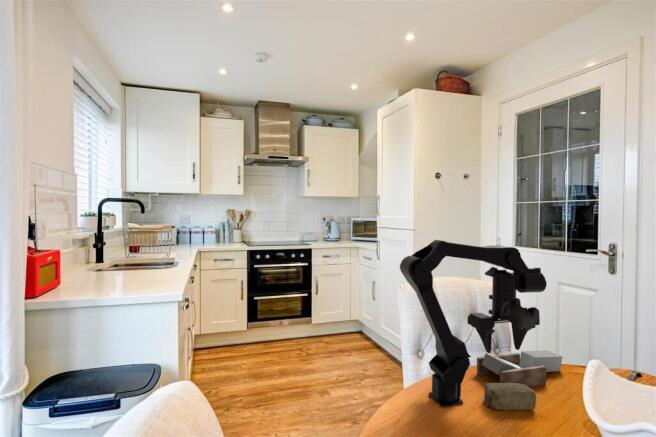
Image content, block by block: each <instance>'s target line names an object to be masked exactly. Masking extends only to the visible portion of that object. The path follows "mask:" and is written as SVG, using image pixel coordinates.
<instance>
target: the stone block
mask: <svg viewBox="0 0 656 437" xmlns="http://www.w3.org/2000/svg"><path fill="white" fill-rule="evenodd" d="M483 396H484V397H483V400H484V403H485V404H486V405H487V406H490V408H491V409H494V410H497V411H500V410H501V411H533V410H536V409H535V408H536V404H537V395H536V392H535V390H533V389H532V388H530V387H528V386H527V385H525V384H520V383H500V382H486V383H485V384H484V394H483Z"/></svg>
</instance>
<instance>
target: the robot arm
mask: <svg viewBox="0 0 656 437" xmlns="http://www.w3.org/2000/svg"><path fill="white" fill-rule="evenodd" d="M519 250H520V249H518V248H516V247H513V246H506V245H486V246H485V245H484V246H478V245H477V246H476V245H471V244H470V245H469V244H464V243H458V242H457V243H455V242H449V241H445V240H441V239H434V240H433V241H432V242H430V243H429V244H427V245H426V246H424V247H422V248H420V249H418V250H417V251H415V252H414V253H413V254H411V255H408V256H406V257H403V259H402V260H401V262H400V264H399V270H400V272H401V274H402V275H403V277H404V278H405V280H406V282H407V283H408V284H409V285H410V287H411V288H412V289H413V291H414V292H415V294H416V296H417V299H418V301H419V303H420V306H421V308H422V311H423V312H424V315H425V317H426V320H427V321H428V324H429V327H430V329H431V331H432V333H433V335H434V339H435V351H436V354H435V355H434V356H433V357H432V358H431V359H430V360H429V362H428V366H429V367H430V368H429V369H430V370H431V371H433V374H431V375H432V376H431V380H432V381H431V392H428V396H429V397H430V398H431V399H433V400H434V401H435V403H436V404H438V405H439V406H440V407H443V408H445V407H450V406H456V405H463V404H464V401H463V399H461V397H462V396H461V395H462V390H461V389H462V383H463V382H464V379H465V376H466V374H467V372H468V370H469V368H470V366H471V362H470V358H471V357H472V356H471V355H470V354H469V351H468V350H467V346H466V344H465V341H463V340H461V339H460V338H458V337H456V336H455V335H454V334H453V333H452V331H451V327H450V326H449V323H448V321H447V319H446V317H445V314H444V312H443V310H442V308H441V304H440V301H439V300H438V298H437V295H436V292H435V291H434V277H433V273H432V272H433V271H434V270H435V269H436V268H437V267H438V266H439V265H440V264H441V262H442V261H443V259H444V258H446V257H450V258H457V259H458V258H459V259H466V260H471V261H472V260H473V261H479V262H481V261H482V262H484V263H486V264H490V265H493V266H490V268H489V269H487V271H485V272H484V275H485V276H488V277H491V278H492V286H491V287H492V288H491V289H492V290H491V291H492V292H491V293H492V294H488V299H489V300H491V309H488V314H489V315H488V314H485V313H482V312H475V313H469V315H467V324H468V325H469V326H471V327H472V328H474V329H475V331H476V332H477V335H478V336H479V337H480V340H481V343H482V344H483V347H484V349H485V351H486V353H487V354H491V353H492V343H493V342H492V339H493V338H492V337H493V336H492V335H493V334H494V333H495V332H496V330H495V329H494V328H495V326H496V324H504V323H505V324H507V323H511V332H512V338H513V346H514V349H515V350H517V351H520V348H521V347H522V345H523V342H524V340H525V337H526V335H527V333H528V332H529V331H530V330H532V329H535V328H536V327H537V326H540V324H541V323H540V322H541V318H540V317H541V316H540V310H539V309H538V307H535V306H533V307H532V306H531V307H523V306H522V304H521V303H522V302H521V299H520V298H519V297H517V292H518V293H521V294H522V293H523V294H524V293H542V292H544V291H545V290H546V288H547V280H546V276H545V275H544V274H543V273H542V272H541V271H542V270H541V269H542V268H541V267H538V266H530V267H528V265H527V264H526V262H525V261H524V260H523V258H522V256H521V252H520V251H519ZM494 266H495V267H494ZM497 267H500V268H503V269H498V268H497ZM510 271H511V272H510Z"/></svg>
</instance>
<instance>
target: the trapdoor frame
mask: <svg viewBox="0 0 656 437" xmlns="http://www.w3.org/2000/svg"><path fill="white" fill-rule="evenodd" d="M493 356H494V357H498V358H500V359H503V360H505V361H508V362H511V363H513V364H516V365H518V366H519V362H520V356H521V353H518V352H514V353H513V352H512V353H505V354H495V355H493ZM483 359H484V356H479V357H476V374H477V375H478V376H484V375H491V374H495V373H494V372H493V371H491V370H490V369H488V368H486V367H485V366H483V365H481V364H482V362H483ZM499 383H520V384H525V385H527V386H528V387H529V388H530V387H536V386H543V385H546V384H547V372H546V367H545V366H535V367H528V368H520V369H512V370H505V371H500V375H499Z"/></svg>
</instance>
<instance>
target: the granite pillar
mask: <svg viewBox="0 0 656 437" xmlns="http://www.w3.org/2000/svg"><path fill="white" fill-rule="evenodd" d="M562 363H563V356H562V355H560V354H558V353H554V352H553V351H551V350H525V351H524V350H521V351H520V362H519V366H520V367H522V368H528V367H535V366H545V367H546V373H551V372H561V369H562Z"/></svg>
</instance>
